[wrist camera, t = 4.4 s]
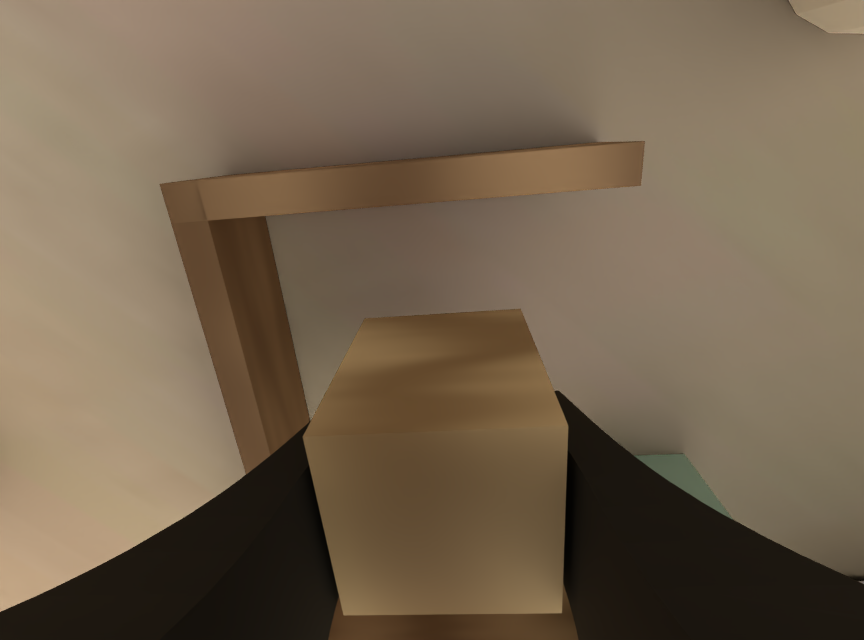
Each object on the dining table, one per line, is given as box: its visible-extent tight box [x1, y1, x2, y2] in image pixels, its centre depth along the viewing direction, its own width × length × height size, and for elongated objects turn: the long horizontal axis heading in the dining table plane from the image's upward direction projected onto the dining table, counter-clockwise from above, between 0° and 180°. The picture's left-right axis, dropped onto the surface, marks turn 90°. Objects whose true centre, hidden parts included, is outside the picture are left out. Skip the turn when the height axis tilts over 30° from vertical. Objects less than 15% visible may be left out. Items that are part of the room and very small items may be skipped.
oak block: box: [303, 309, 568, 615], centre depth 10 cm, size 4×4×5 cm
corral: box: [160, 141, 645, 640], centre depth 16 cm, size 12×19×4 cm, turn 5°
